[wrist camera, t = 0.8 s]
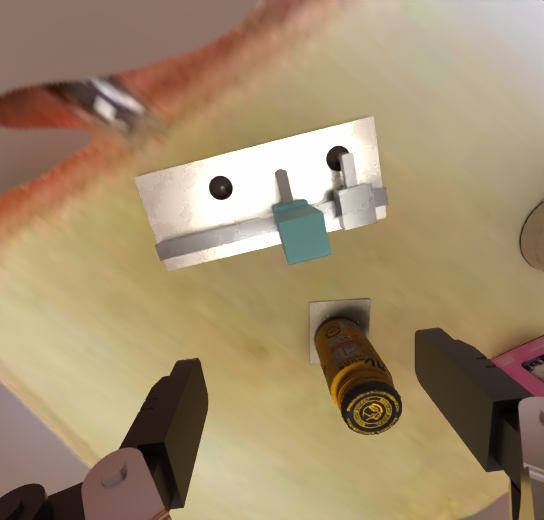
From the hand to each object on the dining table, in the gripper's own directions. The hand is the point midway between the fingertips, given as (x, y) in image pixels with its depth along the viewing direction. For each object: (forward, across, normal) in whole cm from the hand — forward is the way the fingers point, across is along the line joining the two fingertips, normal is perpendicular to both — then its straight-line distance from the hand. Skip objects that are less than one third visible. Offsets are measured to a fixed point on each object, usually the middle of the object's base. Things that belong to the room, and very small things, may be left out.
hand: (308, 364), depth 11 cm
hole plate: (+22, +1, -5) cm, 23 cm away
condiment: (+23, -6, +12) cm, 27 cm away
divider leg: (+21, -1, -4) cm, 21 cm away
